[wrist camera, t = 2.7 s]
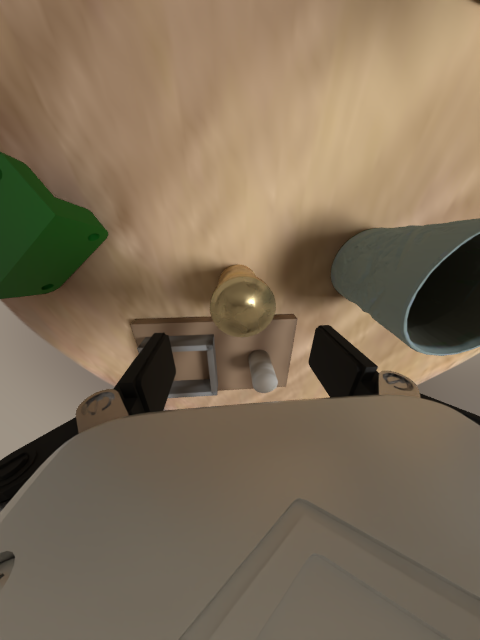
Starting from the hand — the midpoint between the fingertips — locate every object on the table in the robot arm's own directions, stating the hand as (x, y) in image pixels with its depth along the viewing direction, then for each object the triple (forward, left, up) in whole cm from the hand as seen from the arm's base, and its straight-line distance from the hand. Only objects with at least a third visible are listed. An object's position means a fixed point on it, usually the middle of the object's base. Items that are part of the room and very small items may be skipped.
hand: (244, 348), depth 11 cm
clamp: (+19, -6, -13) cm, 24 cm away
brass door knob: (0, -1, -13) cm, 13 cm away
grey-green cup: (-16, -3, -13) cm, 21 cm away
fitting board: (+3, +10, -13) cm, 17 cm away
